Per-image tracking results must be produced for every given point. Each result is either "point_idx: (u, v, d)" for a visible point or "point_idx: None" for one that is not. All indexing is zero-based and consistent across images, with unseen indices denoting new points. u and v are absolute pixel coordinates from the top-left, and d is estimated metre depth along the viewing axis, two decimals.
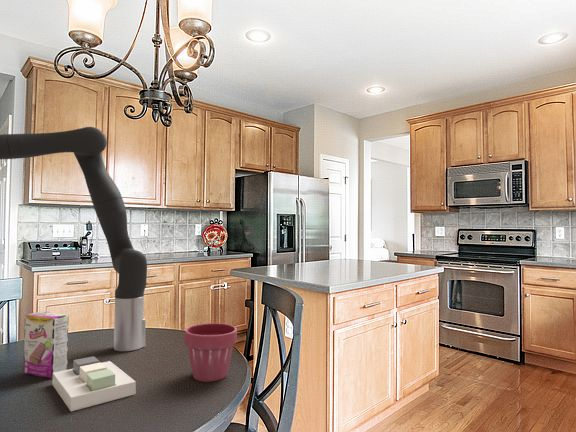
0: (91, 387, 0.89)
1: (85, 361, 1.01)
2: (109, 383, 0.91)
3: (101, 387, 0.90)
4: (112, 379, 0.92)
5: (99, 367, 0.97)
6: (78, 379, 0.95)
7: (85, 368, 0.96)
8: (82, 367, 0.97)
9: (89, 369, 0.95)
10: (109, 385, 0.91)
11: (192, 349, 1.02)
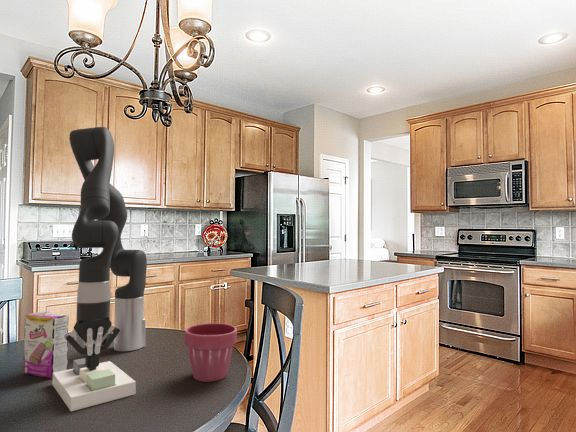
0: (91, 387, 0.89)
1: None
2: (109, 383, 0.91)
3: (101, 387, 0.90)
4: (112, 379, 0.92)
5: (99, 369, 0.97)
6: (78, 379, 0.95)
7: (85, 370, 0.96)
8: (82, 369, 0.97)
9: (89, 371, 0.95)
10: (109, 385, 0.91)
11: (192, 349, 1.02)
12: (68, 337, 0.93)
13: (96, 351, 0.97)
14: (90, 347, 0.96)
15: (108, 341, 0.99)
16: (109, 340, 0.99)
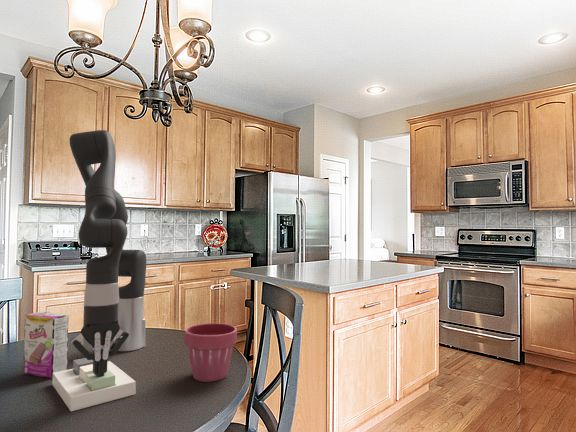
0: (91, 388, 0.89)
1: (85, 361, 1.01)
2: (109, 384, 0.91)
3: (101, 388, 0.90)
4: (112, 380, 0.92)
5: None
6: (78, 379, 0.95)
7: (85, 368, 0.96)
8: (82, 367, 0.97)
9: (89, 369, 0.95)
10: (109, 386, 0.91)
11: (192, 349, 1.02)
12: (75, 342, 0.88)
13: (104, 356, 0.92)
14: (98, 352, 0.91)
15: (117, 346, 0.94)
16: (117, 345, 0.94)
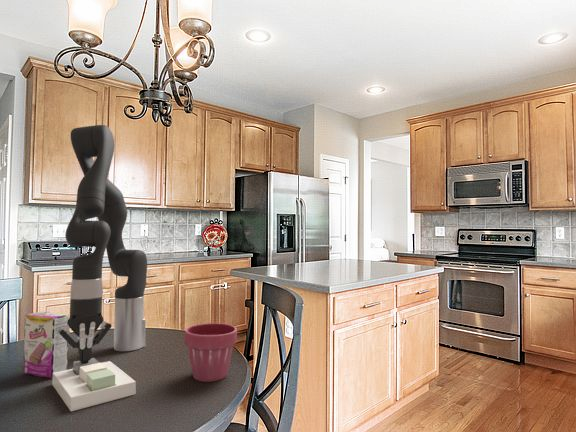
0: (91, 387, 0.89)
1: (85, 363, 1.01)
2: (109, 383, 0.91)
3: (101, 387, 0.90)
4: (112, 379, 0.92)
5: (99, 367, 0.97)
6: (78, 379, 0.95)
7: (85, 368, 0.96)
8: (82, 367, 0.97)
9: (89, 369, 0.95)
10: (109, 385, 0.91)
11: (192, 349, 1.02)
12: (61, 331, 0.98)
13: (88, 345, 1.02)
14: (83, 341, 1.01)
15: (100, 336, 1.04)
16: (101, 335, 1.04)
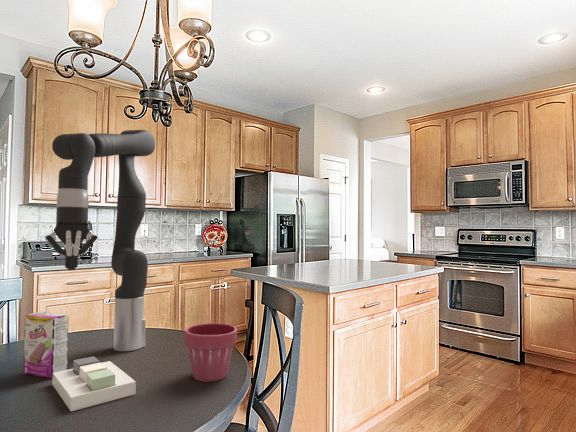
0: (91, 387, 0.89)
1: (85, 361, 1.01)
2: (109, 383, 0.91)
3: (101, 387, 0.90)
4: (112, 379, 0.92)
5: (99, 367, 0.97)
6: (78, 379, 0.95)
7: (85, 368, 0.96)
8: (82, 367, 0.97)
9: (89, 369, 0.95)
10: (109, 385, 0.91)
11: (192, 349, 1.02)
12: (48, 236, 1.01)
13: (75, 253, 1.05)
14: (69, 248, 1.04)
15: (86, 245, 1.07)
16: (87, 245, 1.07)
